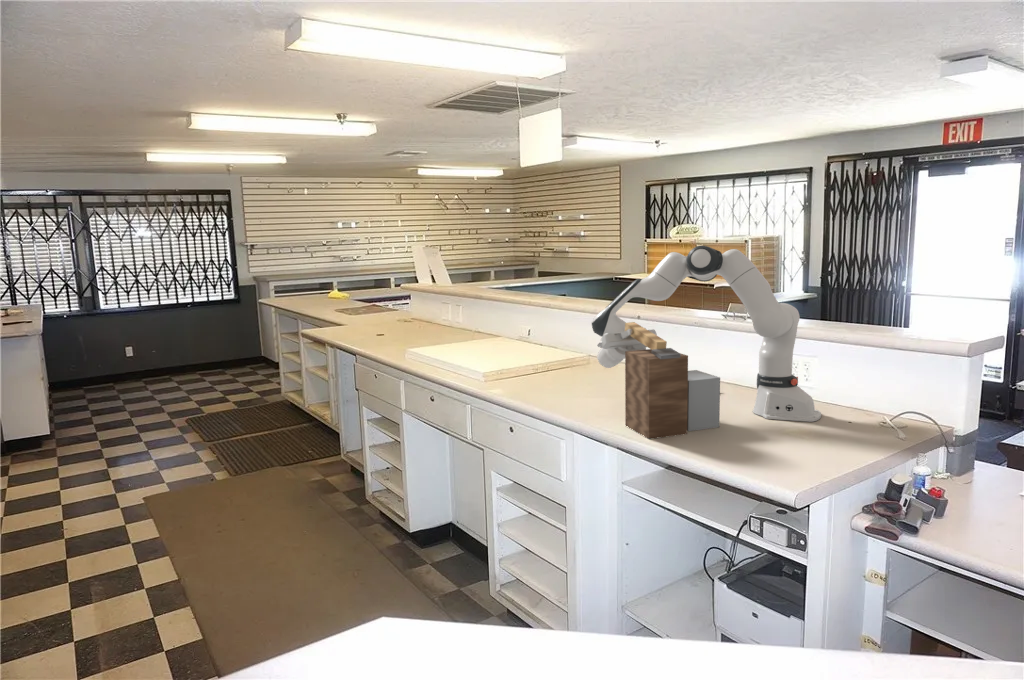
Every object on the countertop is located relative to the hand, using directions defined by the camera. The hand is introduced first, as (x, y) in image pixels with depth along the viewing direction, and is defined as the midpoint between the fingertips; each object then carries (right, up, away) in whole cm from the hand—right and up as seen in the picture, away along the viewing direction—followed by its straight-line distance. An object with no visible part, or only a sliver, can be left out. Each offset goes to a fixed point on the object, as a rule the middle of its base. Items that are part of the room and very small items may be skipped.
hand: (637, 330), depth 227 cm
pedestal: (+5, -33, -6) cm, 34 cm away
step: (+18, -32, 0) cm, 37 cm away
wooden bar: (+2, -5, -6) cm, 8 cm away
